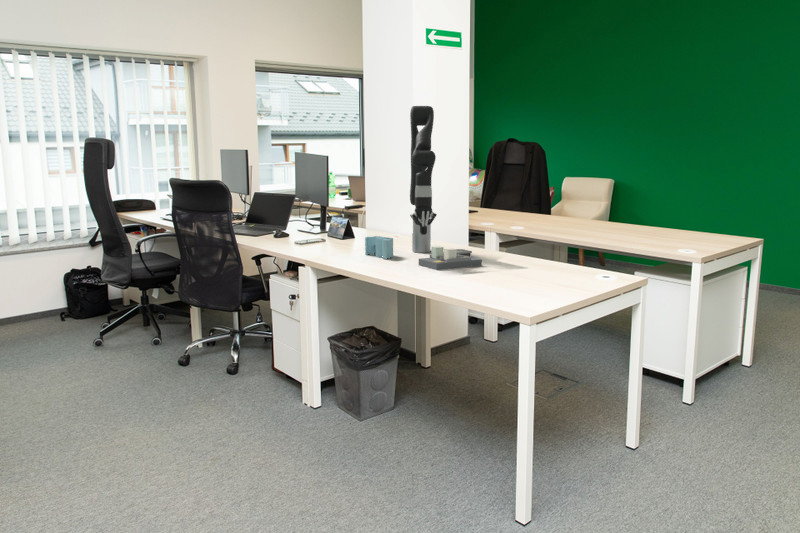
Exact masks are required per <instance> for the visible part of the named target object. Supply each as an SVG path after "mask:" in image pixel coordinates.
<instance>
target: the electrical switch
mask: <svg viewBox="0 0 800 533" xmlns="http://www.w3.org/2000/svg"><path fill="white" fill-rule="evenodd" d="M457 254H460V255H464V256H469V257H472V256H471V255H472V254H473V251H472V250H467V249H463V248H462V249H461V248H458V249H457V248H456V255H457Z"/></svg>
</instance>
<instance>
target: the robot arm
mask: <svg viewBox="0 0 800 533" xmlns="http://www.w3.org/2000/svg"><path fill="white" fill-rule="evenodd" d="M434 114H435V112H434V108H433V106H432V105H431V106H430V105H413V106H411V108H410V115H409V120H410V138H411V139H410V140H411V141H410V185H409V186H410V190H409V201H410V204H411V205H412V206H414V207H415V208H414V212H413V213H410V217H411V218H410V219H412V233H411V237H412V238H411V239H412V241H411V242H412V244H411V247H412V248H411V250H412V253H419V254H422V253H424V254H425V253H432V246H431V245H432V244H431V240H432V237H431V232H432V231H431V228H432V223H433V221H435V219H436V217H437V213H435V212H434V211H433V209H432V208H433V207H432V205H433V189H432V188H433V187H432V178H433V177H432V176H433V168H434V166H435V163H436V158H437V157H436V153H435V152H434V150H432V134H433V128H434V118H435V117H434V116H435V115H434ZM418 127H423V128H421V129H420V131H419V128H418Z"/></svg>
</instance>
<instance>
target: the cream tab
mask: <svg viewBox="0 0 800 533" xmlns="http://www.w3.org/2000/svg"><path fill="white" fill-rule="evenodd" d="M456 249H457V248H456ZM456 249H455V248H452V247H451V248H450V247H448V248H444V260H446V261H447V259H449V258H456Z"/></svg>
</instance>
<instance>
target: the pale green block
mask: <svg viewBox="0 0 800 533" xmlns="http://www.w3.org/2000/svg"><path fill="white" fill-rule="evenodd" d="M444 249H445V248H444V247H443V246H441V245H437V246H431V254H432V257H431V258H435V259H436V256H443V255H444Z"/></svg>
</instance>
